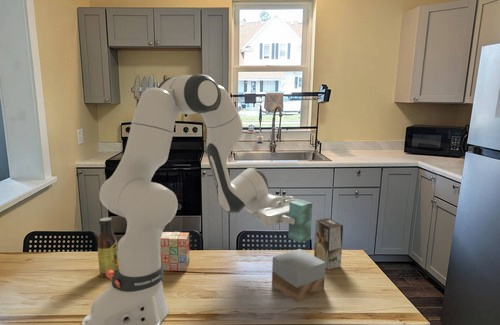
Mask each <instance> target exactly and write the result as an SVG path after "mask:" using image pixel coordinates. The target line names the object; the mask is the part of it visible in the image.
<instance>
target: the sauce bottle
mask: <svg viewBox="0 0 500 325" xmlns="http://www.w3.org/2000/svg"><path fill="white" fill-rule="evenodd" d="M98 223H99V226H100V227H99V229H100V231H99V232H100V233H99V235H98V237H97V240H96V241H97V242H96V243H97V256H98V266H99V267H98V271H99V275H100V277H102V278H108V277H107V276H106V273H107V271H108V270H113V271H114V273H116V272H117V270H118V268H119V262H118V239H117V237H116V235H115V233H114V230H113V217H109V216H107V217H102V218H100V219H99V220H98Z"/></svg>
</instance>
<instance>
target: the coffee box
mask: <svg viewBox="0 0 500 325" xmlns="http://www.w3.org/2000/svg"><path fill="white" fill-rule="evenodd" d="M314 226H315V229H314V230H315V231H314V250H313V252H314V254H313V256H315V257H317V258H318V259H320V260H322V261H324V262H326V265H325V270H326V269H327V270H331V269H336V268H341V267H342V253H343V252H342V251H343V235H344V234H343V232H344V225H343V224H341V223H339V222H337V221H334V220H333V219H331V218H329V217H328V218H320V219H318V220H315V225H314Z"/></svg>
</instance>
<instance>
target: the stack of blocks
mask: <svg viewBox="0 0 500 325" xmlns="http://www.w3.org/2000/svg"><path fill="white" fill-rule="evenodd" d="M161 263H162V267H163V271H170V272H171V271H177V272H178V271H179V272H181V271H183V272H186V271H187V270H188V268H189V265H190V232H182V231H163V232H162V236H161ZM187 272H188V271H187Z"/></svg>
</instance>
